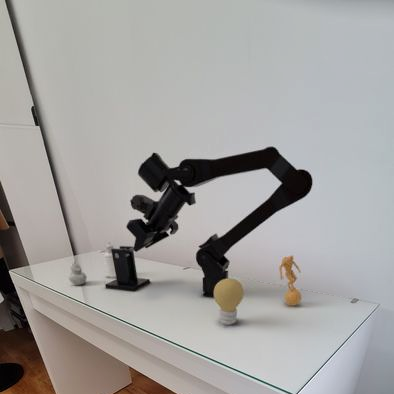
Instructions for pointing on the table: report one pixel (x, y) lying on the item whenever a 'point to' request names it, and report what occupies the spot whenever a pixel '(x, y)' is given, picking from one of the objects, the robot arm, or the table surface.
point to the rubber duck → (77, 275)
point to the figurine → (293, 294)
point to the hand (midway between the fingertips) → (140, 248)
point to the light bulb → (228, 299)
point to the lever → (129, 251)
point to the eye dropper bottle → (109, 261)
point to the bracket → (125, 271)
